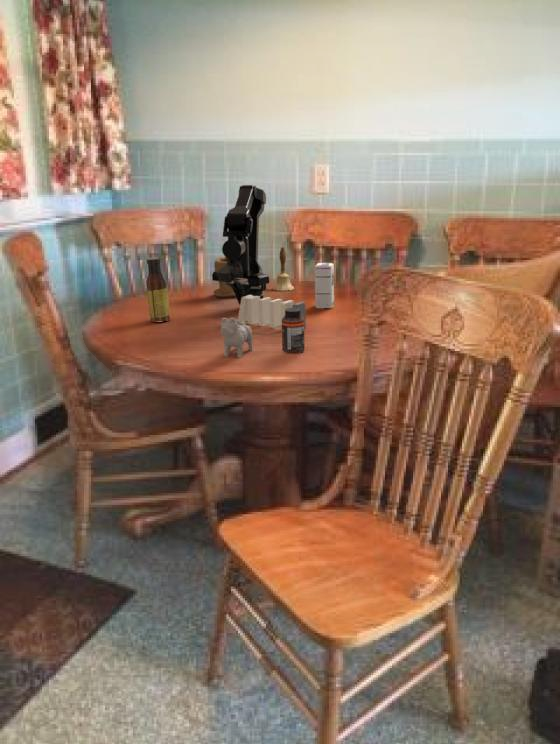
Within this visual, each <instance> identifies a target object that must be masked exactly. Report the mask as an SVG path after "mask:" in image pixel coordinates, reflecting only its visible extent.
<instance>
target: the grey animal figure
mask: <svg viewBox="0 0 560 744" xmlns="http://www.w3.org/2000/svg"><path fill="white" fill-rule="evenodd" d="M219 333H220V334H221V335H222V342H223V344H224V354H223V356H224V357H229V355H230V352H231V348H232V347H233V348H235V350H236V349H237V350H236V352H237V355H236V357H237V358H242V357H243V348H244V347H243V345H245V343H247V344H248V345H247V346H248V351H249V350H250V352H252V351H253V330H252V328H251V327H250V326H249V325H246V323H245V322H239V321H238V318H237V319H236V318H234V317H230V318H226V317H222V318H221V324H220V330H219ZM251 350H252V351H251Z"/></svg>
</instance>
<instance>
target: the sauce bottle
mask: <svg viewBox="0 0 560 744" xmlns="http://www.w3.org/2000/svg"><path fill="white" fill-rule="evenodd" d="M146 264H147V268H148V276H147V277H146V281H145V283H146V294H147V296H146V297H147V305H148V312H149V318H150V321H151V320H152V321H167V320H169V319H170V314H171V312H170V304H169V296H168V288H167V287H168V286H167V283H166V281H165V278H164V276H163V273H162V269H161V258H160V257H148V258H147V259H146ZM152 321H151V322H152ZM169 321H170V320H169ZM167 322H168V321H167Z"/></svg>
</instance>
